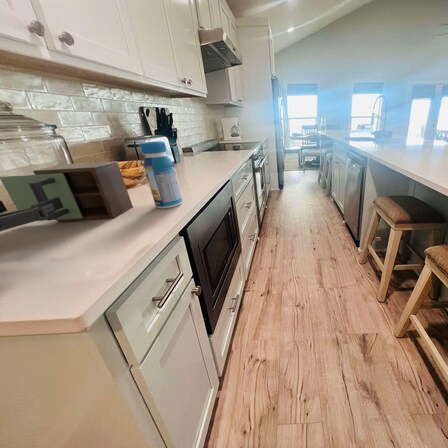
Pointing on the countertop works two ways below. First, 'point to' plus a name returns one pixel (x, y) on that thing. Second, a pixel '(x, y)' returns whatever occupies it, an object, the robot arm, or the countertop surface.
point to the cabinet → (94, 188)
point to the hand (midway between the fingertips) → (31, 204)
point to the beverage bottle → (160, 175)
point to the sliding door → (42, 193)
